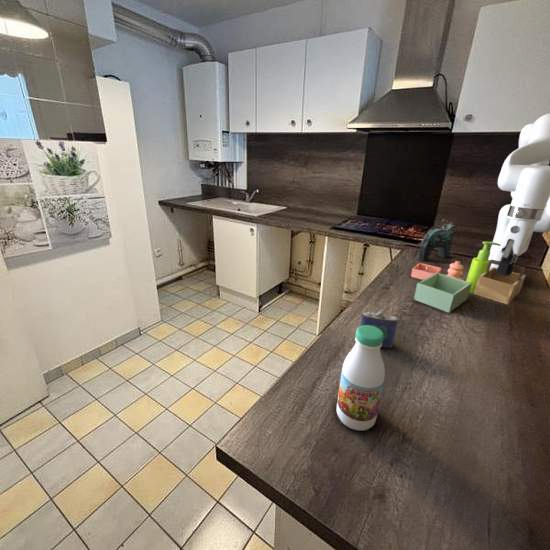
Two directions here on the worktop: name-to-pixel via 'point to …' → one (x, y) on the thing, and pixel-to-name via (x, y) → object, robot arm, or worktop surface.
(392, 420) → the worktop surface
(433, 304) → the green basket
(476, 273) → the soap dispenser
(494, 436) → the worktop surface
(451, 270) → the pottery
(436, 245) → the dark green animal figurine
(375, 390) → the milk bottle
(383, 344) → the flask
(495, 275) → the wooden basket
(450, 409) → the worktop surface
